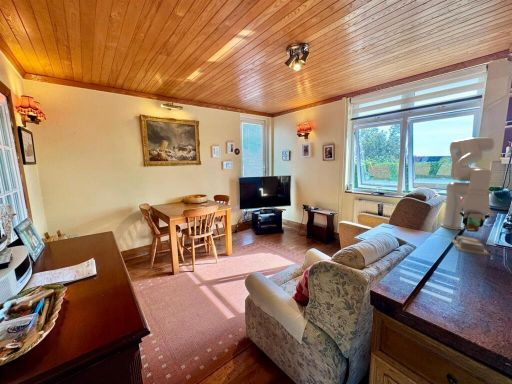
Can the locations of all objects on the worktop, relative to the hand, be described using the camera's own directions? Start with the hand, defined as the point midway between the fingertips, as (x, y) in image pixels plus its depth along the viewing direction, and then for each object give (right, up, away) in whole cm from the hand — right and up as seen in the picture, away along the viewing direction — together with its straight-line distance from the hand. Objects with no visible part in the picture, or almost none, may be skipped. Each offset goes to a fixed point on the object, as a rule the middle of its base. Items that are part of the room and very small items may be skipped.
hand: (472, 225), depth 120 cm
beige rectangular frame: (0, -12, +2) cm, 13 cm away
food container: (+1, -3, 0) cm, 3 cm away
